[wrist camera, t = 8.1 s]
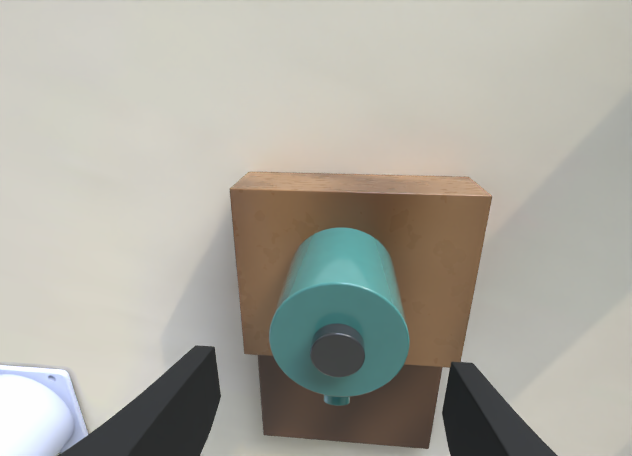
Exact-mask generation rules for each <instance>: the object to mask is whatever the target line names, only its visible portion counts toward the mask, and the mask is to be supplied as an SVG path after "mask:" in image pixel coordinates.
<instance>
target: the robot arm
mask: <svg viewBox="0 0 632 456" xmlns="http://www.w3.org/2000/svg"><path fill="white" fill-rule="evenodd" d="M220 397H221V394H220V386H219V378H218V371H217V363H216V355H215V347H211V346H195V347H193V348H192V349H191V350H190V351H189V352H188V353H187V354H185V355H184V356H183V357H182V358H181V359H180V360H179V361H178V362H176V363H175V364H174V365H173V366H172V367H171V368H170V369H169V370H168V371H166V372H165V373H164V374H163V375H162V376H161V377H160V378H159V379H157V380H156V381H155V382H154V383H153V384H152V385H150V386H149V387H148V388H147V389H146V390H145V391H144V392H142V393H141V394H140V395H139V396H138V397H137V398H135V399H134V400H133V401H132V402H130V403H129V404H128V405H127V406H125V407H124V408H123V409H122V410H120V411H119V412H118V413H117V414H115V415H114V416H113V417H112V418H110V419H109V420H108V421H107V422H105V423H104V424H103V425H101V426H100V427H98V428H97V429H96V430H94V431H93V432H92V433H90V434H89V435H88V432H87V429H86V425H85V422H84V419H83V416H82V413H81V410H80V407H79V404H78V401H77V398H76V395H75V392H74V388H73V385H72V382H71V379H70V376H69V374H68V373H67V372H66V371H65V370H60V369H47V368H33V367H19V366H5V365H0V456H57V454H58V453H61V454H60V455H58V456H200V454H201V452H202V449H203V447H204V445H205V442H206V440H207V438H208V435H209V433H210V430H211V427H212V424H213V421H214V418H215V415H216V411H217V408H218V404H219V401H220ZM442 415H443V420H444V426H445V431H446V437H447V442H448V447H449V451H450V454H451V456H557V455H556V454H555V453H554V452H553V451H552V450H551V449H550V448H549V447H548V446H547V445H546V444H545V443H544V442H543V441H542V440H541V439H540V438H539V437H538V435H537V434H536V433H535V432H534V431H533V430H532V429H531V428H530V427H529V426H528V425H527V424H526V423H525V422H524V421H523V419H522V418H521V417H520V416H519V415H518V414H517V413H516V412H515V411H514V410H513V409H512V407H511V406H510V405H509V404H508V403H507V402H506V401H505V400H504V398H503V397H502V396H501V395H500V394H499V393H498V392H497V390H496V389H495V388H494V387H493V386H492V385H491V384H490V382H489V381H488V380H487V379H486V378H485V377H484V375H483V374H482V373H481V372H480V371H479V370H478V368H477V367H476V366H475V365H474V364H473V363H466V362H451V366H450V372H449V377H448V383H447V388H446V394H445V400H444V405H443V411H442Z"/></svg>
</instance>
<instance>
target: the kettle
mask: <svg viewBox="0 0 632 456" xmlns="http://www.w3.org/2000/svg"><path fill="white" fill-rule="evenodd" d="M269 342H270V348H271V351H272V354H273V356H274V359H275V361H276V362H277V364H278V365H279V367H280V368H281V369H282V371H283V372H284V373H285V374H286V375H287V376H288V377H289V378H290V379H292V380H293V381H294V382H296V383H297V384H299V385H301V386H302V387H304V388H306V389H308V390H311V391H313V392H316V393H319V394H324V397H323V400H324V402H325V403H327V404H330V405H335V406H343V405H347V404H349V403H350V396H357V395H362V394H366V393H369V392H372V391H374V390H376V389H378V388H380V387H382V386H384V385H385V384H387V383H388V382H389V381H391V380H392V379H393V378H394V377H395V376H396V375H397V374H398V372H399V371H400V370H401V368H402V367H403V365H404V363H405V361H406V358H407V356H408V352H409V344H410V338H409V331H408V327H407V322H406V318H405V314H404V309H403V305H402V300H401V296H400V292H399V287H398V283H397V279H396V274H395V270H394V266H393V262H392V259H391V257H390V255H389V253H388V252H387V250H386V249H385V247H384V246H383V245H382V244H381V243H380V242H379V241H378V240H377V239H375V238H374V237H372V236H371V235H369V234H367V233H365V232H362V231H359V230H356V229H352V228H330V229H326V230H322V231H320V232H318V233H315V234H314V235H312V236H310V237H309V238H307V239H306V240H305V241H304V242H303V243H302V244H301V245H300V246H299V247H298V249H297V250H296V252H295V254H294V256H293V258H292V261H291V264H290V267H289V270H288V273H287V276H286V279H285V282H284V285H283V288H282V291H281V294H280V297H279V300H278V303H277V306H276V309H275V312H274V315H273V318H272V321H271V324H270V329H269Z"/></svg>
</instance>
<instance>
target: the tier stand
mask: <svg viewBox="0 0 632 456" xmlns="http://www.w3.org/2000/svg"><path fill="white" fill-rule="evenodd" d="M230 198H231V210H232V221H233V232H234V243H235V254H236V265H237V277H238V288H239V299H240V310H241V321H242V332H243V344H244V354H252V355H258V364H259V378H260V392H261V406H262V419H263V433H264V435H269V436H281V437H293V438H305V439H317V440H329V441H341V442H352V443H364V444H376V445H388V446H400V447H412V448H423V449H428V448H429V443H430V437H431V431H432V425H433V419H434V413H435V407H436V401H437V396H438V390H439V384H440V378H441V372H442V367H449V368H450V366H451V362H461V356H462V351H463V346H464V341H465V336H466V330H467V325H468V320H469V315H470V309H471V304H472V299H473V294H474V288H475V283H476V278H477V273H478V267H479V262H480V257H481V252H482V247H483V241H484V236H485V231H486V226H487V220H488V215H489V210H490V205H491V199H492V195H490V194H489V193H488V192H487V191H485V190H484V189H483V188H482V187H481V186H479V185H478V184H477V183H476V182H474V181H473V180H472V179H471V178H469V177H449V176H406V175H364V174H321V173H278V172H248V173H247V174H246V175H245V176H244V177H242V178H241V179H240V180H239V181H238V182H237V183H236V184H234V185H233V186H232V187H231V188H230ZM330 228H352V229H356V230H359V231H362V232H365V233H367V234H369V235H371V236H372V237H374V238H375V239H377V240H378V241H379V242H380V243H381V244H382V245H383V246H384V247H385V249H386V250H387V252H388V253H389V255H390V257H391V259H392V262H393V266H394V270H395V274H396V279H397V283H398V287H399V292H400V296H401V300H402V305H403V309H404V314H405V318H406V322H407V327H408V331H409V338H410V344H409V352H408V356H407V358H406V361H405V363H404V365H403V367H402V368H401V370H400V371H399V372H398V374H397V375H396V376H395V377H394V378H393V379H392V380H391V381H389V382H388V383H387V384H385V385H384V386H382V387H380V388H378V389H376V390H374V391H372V392H369V393H366V394H362V395H357V396H350V403H349V404H347V405H343V406H335V405H330V404H327V403H325V402H324V400H323V397H324V394H319V393H316V392H313V391H311V390H308V389H306V388H304V387H302V386H301V385H299V384H297V383H296V382H294V381H293V380H292V379H290V378H289V377H288V376H287V375H286V374H285V373H284V372H283V371H282V369H281V368H280V367H279V365H278V364H277V362H276V361H275V359H274V356H273V354H272V351H271V348H270V342H269V329H270V324H271V321H272V318H273V315H274V312H275V309H276V306H277V303H278V300H279V297H280V294H281V291H282V288H283V285H284V282H285V279H286V276H287V273H288V270H289V267H290V264H291V261H292V258H293V256H294V254H295V252H296V250H297V249H298V247H299V246H300V245H301V244H302V243H303V242H304V241H305V240H306V239H307V238H309V237H310V236H312V235H314V234H315V233H318V232H320V231H322V230H326V229H330Z"/></svg>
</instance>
